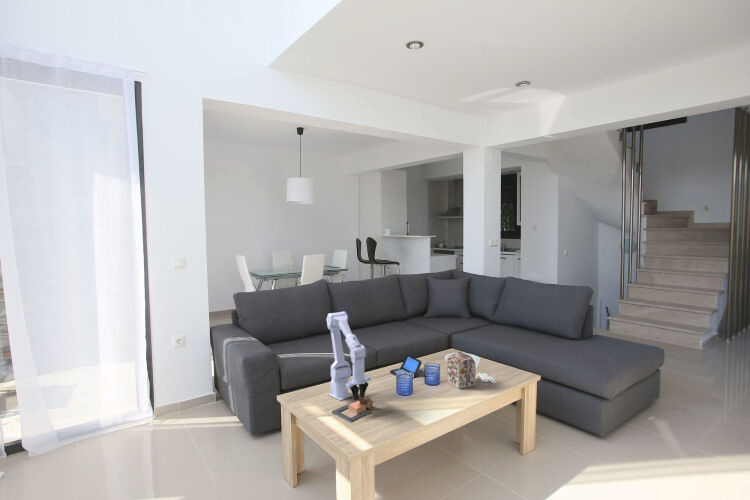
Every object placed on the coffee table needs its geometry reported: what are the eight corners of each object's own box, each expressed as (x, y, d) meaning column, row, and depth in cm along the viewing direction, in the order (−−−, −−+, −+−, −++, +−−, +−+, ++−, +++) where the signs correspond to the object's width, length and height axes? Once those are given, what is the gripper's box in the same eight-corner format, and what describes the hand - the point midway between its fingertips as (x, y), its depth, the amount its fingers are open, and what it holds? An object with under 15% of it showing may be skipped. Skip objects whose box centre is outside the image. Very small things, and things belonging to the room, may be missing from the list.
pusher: (359, 404, 207) (349, 398, 203) (362, 396, 209) (353, 390, 204) (370, 409, 202) (360, 403, 197) (374, 401, 203) (364, 395, 199)
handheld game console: (389, 372, 251) (388, 357, 251) (406, 368, 258) (406, 354, 258) (404, 381, 238) (403, 365, 237) (422, 376, 245) (422, 361, 244)
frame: (332, 412, 199) (332, 410, 198) (351, 404, 207) (351, 402, 207) (350, 421, 189) (350, 419, 189) (369, 412, 198) (369, 410, 198)
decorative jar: (446, 382, 235) (446, 351, 234) (462, 378, 240) (463, 348, 239) (458, 389, 224) (458, 357, 223) (476, 386, 229) (476, 354, 228)
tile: (348, 410, 201) (348, 404, 201) (357, 407, 205) (357, 401, 205) (356, 414, 197) (356, 408, 197) (366, 410, 201) (366, 404, 201)
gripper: (352, 377, 193) (353, 405, 194) (375, 369, 203) (375, 396, 204) (343, 373, 198) (343, 401, 199) (365, 366, 208) (365, 392, 209)
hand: (358, 398), depth 202 cm, fingers closed on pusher, 3 cm apart
